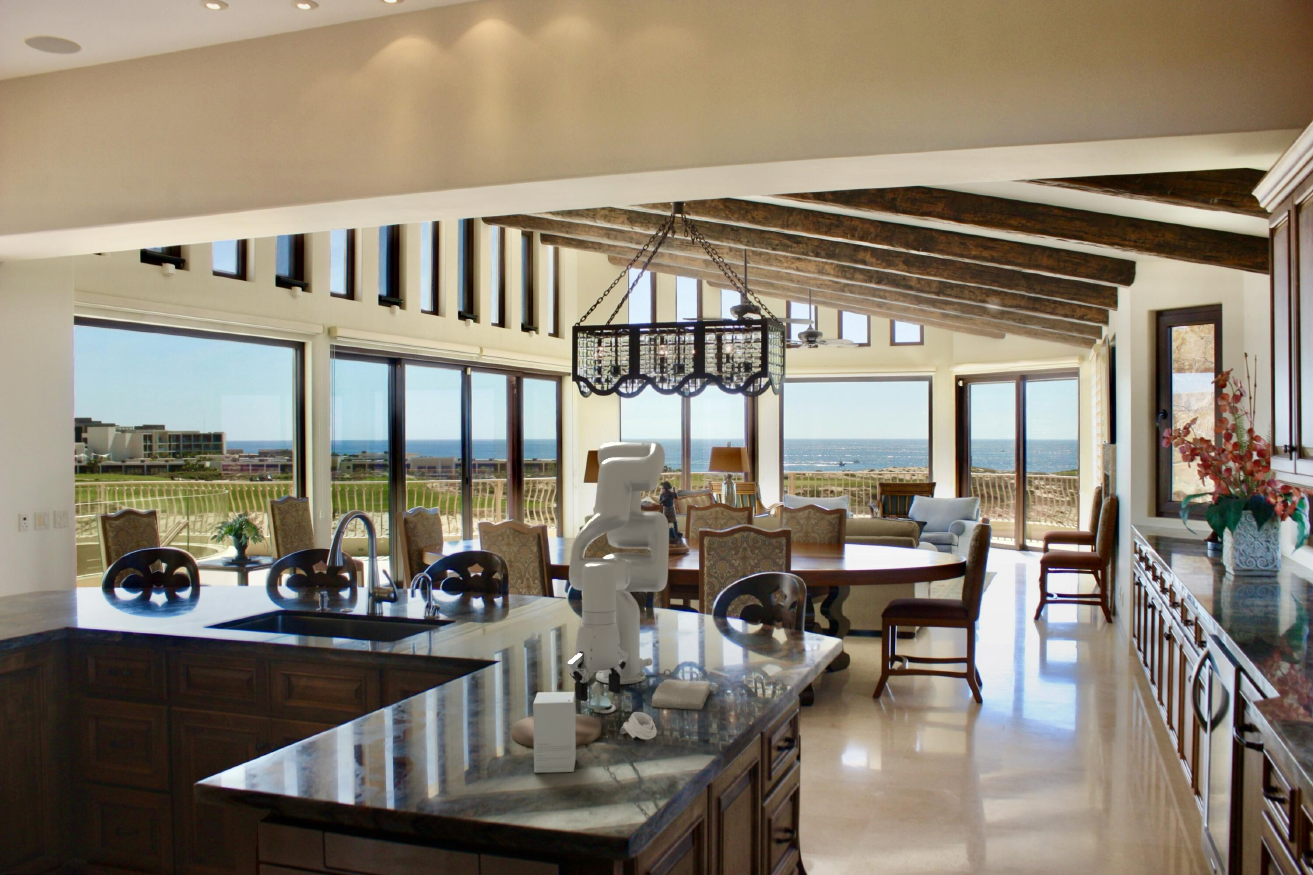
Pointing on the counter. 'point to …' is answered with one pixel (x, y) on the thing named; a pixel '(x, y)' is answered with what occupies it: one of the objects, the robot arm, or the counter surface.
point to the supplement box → (554, 732)
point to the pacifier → (600, 701)
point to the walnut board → (584, 730)
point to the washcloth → (681, 694)
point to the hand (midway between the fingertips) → (598, 696)
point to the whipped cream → (639, 726)
